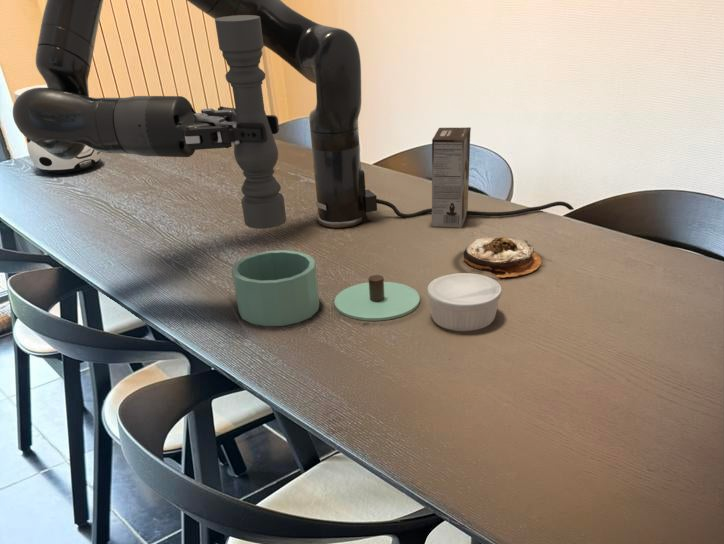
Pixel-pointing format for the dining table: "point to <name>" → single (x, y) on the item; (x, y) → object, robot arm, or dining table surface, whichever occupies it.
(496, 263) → the cream topped cake
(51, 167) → the doce de leite jar
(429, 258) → the dining table surface
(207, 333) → the dining table surface
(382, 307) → the pot lid
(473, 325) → the ramekin
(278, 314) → the pot
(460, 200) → the coffee box
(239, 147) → the candle holder
